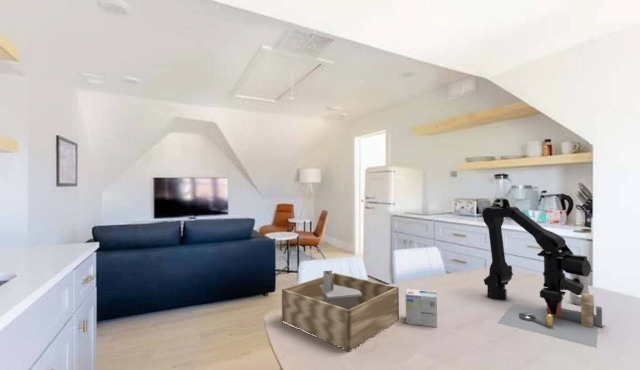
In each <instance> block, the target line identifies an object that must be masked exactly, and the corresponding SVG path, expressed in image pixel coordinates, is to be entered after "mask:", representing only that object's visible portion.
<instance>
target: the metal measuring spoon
mask: <svg viewBox="0 0 640 370" xmlns="http://www.w3.org/2000/svg"><path fill="white" fill-rule="evenodd" d="M519 318H520V319H522V320H525V321H533V322H535V323H538V324H540V325H543V326H545V327H548V328H553V315H552V314H549V313H547V314H546V322H543V321H540V320H538V319H536V317H535V316H534V315H533V314H528V313H520V314H519Z"/></svg>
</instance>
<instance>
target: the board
mask: <svg viewBox="0 0 640 370" xmlns="http://www.w3.org/2000/svg"><path fill="white" fill-rule="evenodd" d="M520 313H528V314H533V315H534V316H535V317H536V319H538V320H540V321H543V322H546V314H547V310H545V309H539V308H534V307H530V306H525V305H521V304H516V303H512V304H511V306H510V307H509V308H508V309H507V311H506V312H505V313H504V314H503V316H502V317H501V318H499V321H498V322H497V324H502V325H505V326H509V327H512V328H516V329H521V330H523V331H528V332H533V333H537V334H540V335H543V336H544V335H545V336H548V337H553V338H556V339H559V340H560V339H561V340H562V341H563V340H565V341H568V342H572V343H575V344H579V345H584V346H588V347H591V348H592V347H593V348H595V349H596V348H597V344H598V343H597V342H598V333H599V332H598V329H599V326H595V325H593V328H590V327H585V326H581V322H576V321H572V320H567V319H563V318H557V317H553V328H548V327H545V326H543V325H540V324H538V323H535V322H533V321H525V320H522V319H520V318H519V314H520Z"/></svg>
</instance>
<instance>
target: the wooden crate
mask: <svg viewBox="0 0 640 370" xmlns="http://www.w3.org/2000/svg"><path fill="white" fill-rule="evenodd" d="M332 284H333V285H338V286H343V287H347V288H352V289H356V290H359V291H360V292H361V293H362V296H358V297H357V305H358V306H356V307H353V308H351V309H349V310H348V309H345V308H342V307H338V306H335V305H332V304H329V303H326V302H323V301H320V299H324V293H323V291H322V290H321V288H320V285H324V275H323V276H321V277H317V278H314V279H311V280H308V281H305V282H302V283H299V284H296V285H292V286H289V287H286V288H283V289H281V309H282V310H281V322H282V321H284V322H286V323H288V324H291V325H293V326H295V327H297V328H300V329H302V330H304V331H306V332H308V333H310V334H313V335H315V336H317V337H320V338H322V339H324V340H326V341H328V342H330V343H332V344H335V345H337V346H340V347H342V348H344V349H346V350H348V351H347V352H349V351H350V350H352V349H353V350H355V349H356V348H355V347H357V346H358V345H360V344H361V345H363V344H364V343H366V342H367V341H366V340H368V339H369V338H371V337H372V338H373V336H374V335H375V336H377V335H378V334H377V333H379V332H380V333H381V331H382V330H383V331H385V330H386V329H388V328H390V327H391V326H393V325H394V324H396V323H397V322H399V321H400V308H399V307H400V302H399V301H400V300H399V299H400V296H399V295H400V294H399V293H400V292H399V291H400V290H399V286H398V287H397V286H394V285H389V284H385V283H380V282H376V281H372V280H368V279H363V278H357V277H354V276H348V275H347V274H346V275H345V274H341V273H336V272H334V273H333V272H332ZM398 320H399V321H398ZM396 321H397V322H396ZM395 322H396V323H395ZM393 323H394V324H393ZM392 324H393V325H392ZM390 325H391V326H390ZM389 326H390V327H389ZM387 327H388V328H387ZM385 328H386V329H385ZM384 329H385V330H384ZM383 331H382V332H383ZM380 333H379V334H380ZM376 334H377V335H376ZM375 336H374V337H375ZM372 338H371V339H372ZM369 340H370V339H369ZM369 340H368V341H369ZM326 341H325V342H326ZM365 341H366V342H365ZM328 342H327V343H328ZM363 342H364V343H363ZM330 343H329V344H330ZM362 343H363V344H362ZM332 344H331V345H332ZM335 345H334V346H335ZM361 345H360V346H361ZM337 346H336V347H337ZM358 347H359V346H358ZM358 347H357V348H358ZM342 348H341V349H342ZM354 348H355V349H354ZM344 349H343V350H344ZM346 350H345V351H346ZM353 350H352V351H353ZM350 352H351V351H350Z"/></svg>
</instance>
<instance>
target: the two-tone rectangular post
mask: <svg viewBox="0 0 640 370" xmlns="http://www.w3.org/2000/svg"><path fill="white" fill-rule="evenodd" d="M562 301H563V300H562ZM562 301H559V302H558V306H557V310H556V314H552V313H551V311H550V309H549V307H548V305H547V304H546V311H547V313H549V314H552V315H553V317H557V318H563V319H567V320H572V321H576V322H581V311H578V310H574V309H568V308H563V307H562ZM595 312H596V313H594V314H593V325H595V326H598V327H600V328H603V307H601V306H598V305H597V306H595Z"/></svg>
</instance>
